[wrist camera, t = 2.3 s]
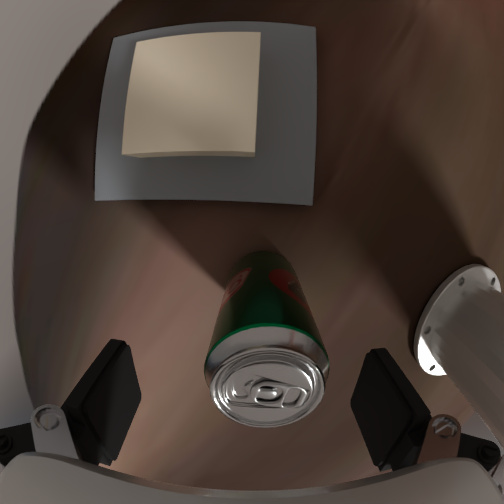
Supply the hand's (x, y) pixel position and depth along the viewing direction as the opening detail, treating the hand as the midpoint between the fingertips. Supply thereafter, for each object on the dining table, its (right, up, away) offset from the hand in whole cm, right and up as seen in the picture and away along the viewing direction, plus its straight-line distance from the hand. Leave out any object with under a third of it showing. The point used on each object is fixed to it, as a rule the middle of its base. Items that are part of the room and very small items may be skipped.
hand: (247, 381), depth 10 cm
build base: (-3, +15, +8) cm, 18 cm away
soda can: (+1, +3, +11) cm, 12 cm away
